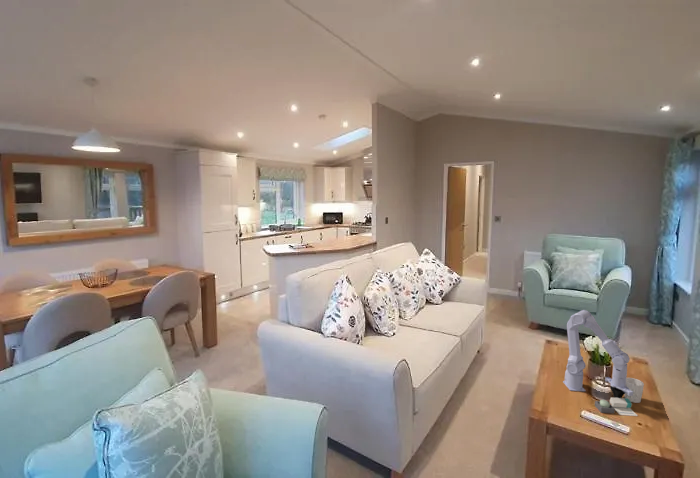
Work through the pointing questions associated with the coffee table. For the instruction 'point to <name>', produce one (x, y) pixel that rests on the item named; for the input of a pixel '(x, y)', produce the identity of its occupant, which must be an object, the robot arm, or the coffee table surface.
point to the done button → (604, 403)
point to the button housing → (604, 408)
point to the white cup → (634, 389)
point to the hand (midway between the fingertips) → (617, 401)
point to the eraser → (620, 402)
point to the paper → (625, 411)
